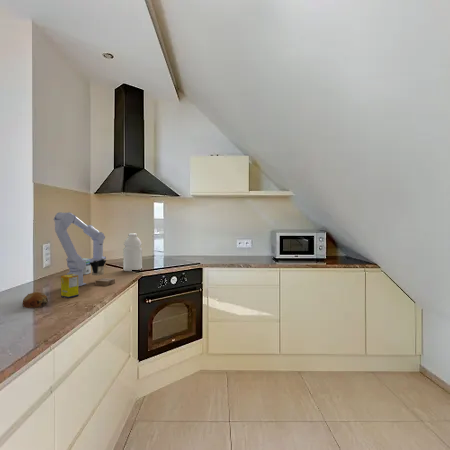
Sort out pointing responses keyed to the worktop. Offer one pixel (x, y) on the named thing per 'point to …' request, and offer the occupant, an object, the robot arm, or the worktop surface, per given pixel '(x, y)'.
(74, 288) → the supplement box
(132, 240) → the bottle
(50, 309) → the worktop surface
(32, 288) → the worktop surface
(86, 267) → the light bulb box
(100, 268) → the maple cube
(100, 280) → the walnut block
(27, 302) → the bread roll
